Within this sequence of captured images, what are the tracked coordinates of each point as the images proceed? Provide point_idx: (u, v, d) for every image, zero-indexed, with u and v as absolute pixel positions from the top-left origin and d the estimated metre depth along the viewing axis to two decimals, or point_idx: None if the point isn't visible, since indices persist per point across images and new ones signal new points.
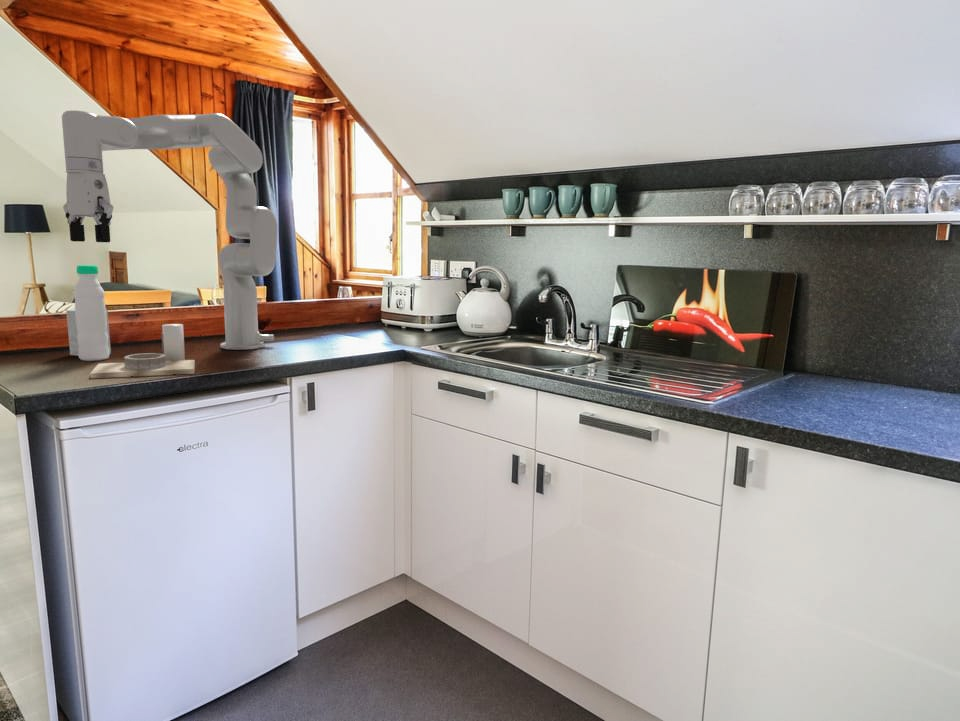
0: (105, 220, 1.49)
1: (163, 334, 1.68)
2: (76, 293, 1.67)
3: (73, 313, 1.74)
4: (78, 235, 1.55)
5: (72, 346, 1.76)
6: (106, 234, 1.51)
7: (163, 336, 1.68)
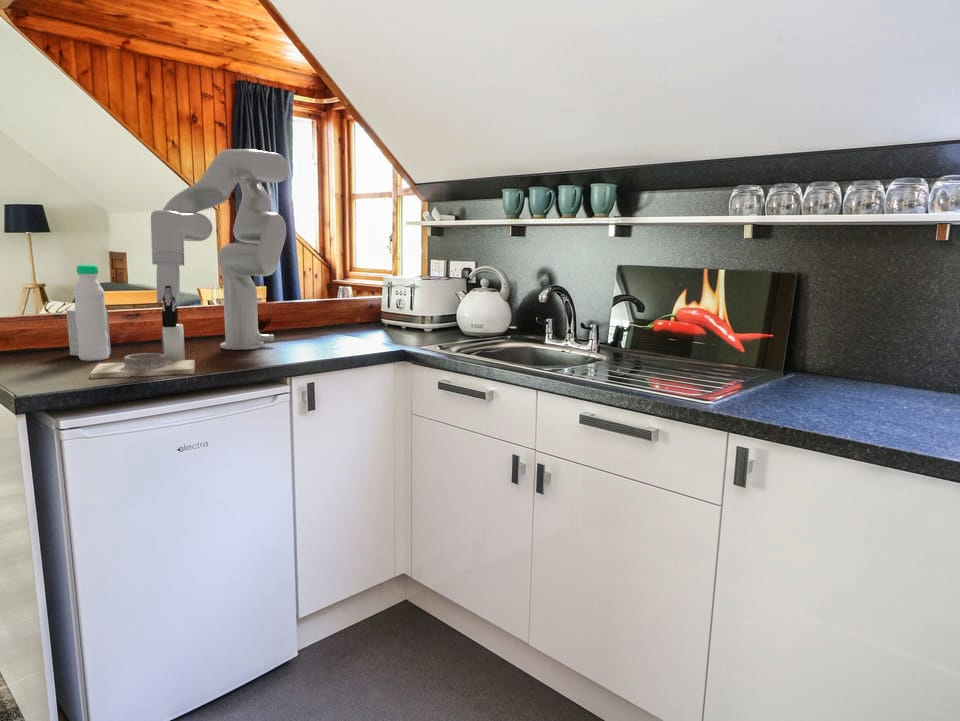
0: None
1: (163, 334, 1.68)
2: (76, 293, 1.67)
3: (73, 313, 1.74)
4: None
5: (72, 346, 1.76)
6: None
7: (163, 336, 1.68)
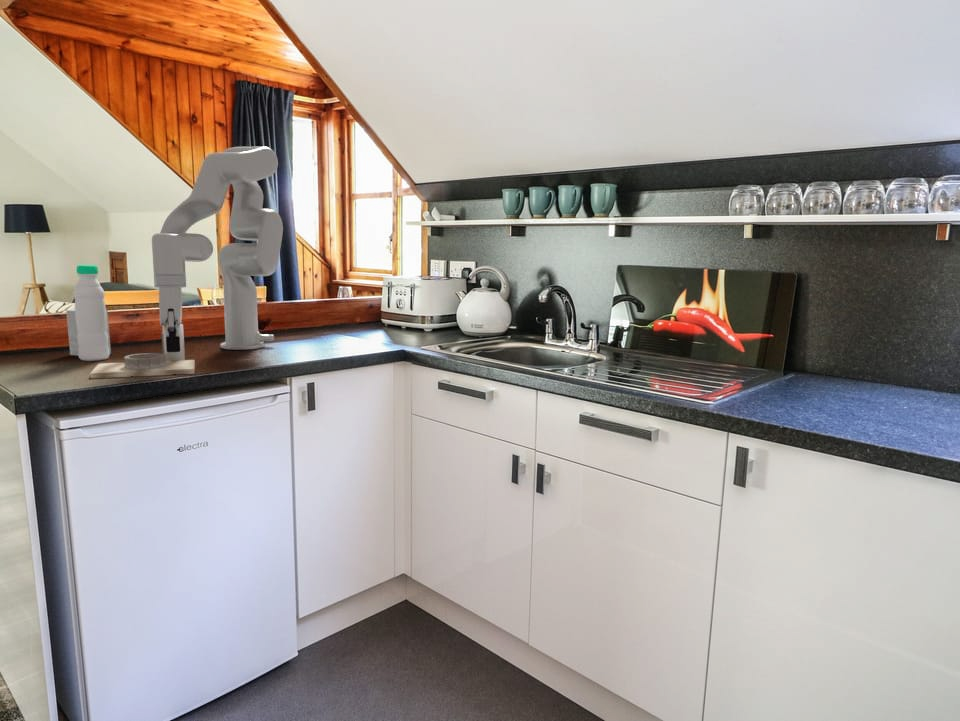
0: None
1: (163, 334, 1.68)
2: (76, 293, 1.67)
3: (73, 313, 1.74)
4: None
5: (72, 346, 1.76)
6: None
7: (163, 336, 1.68)
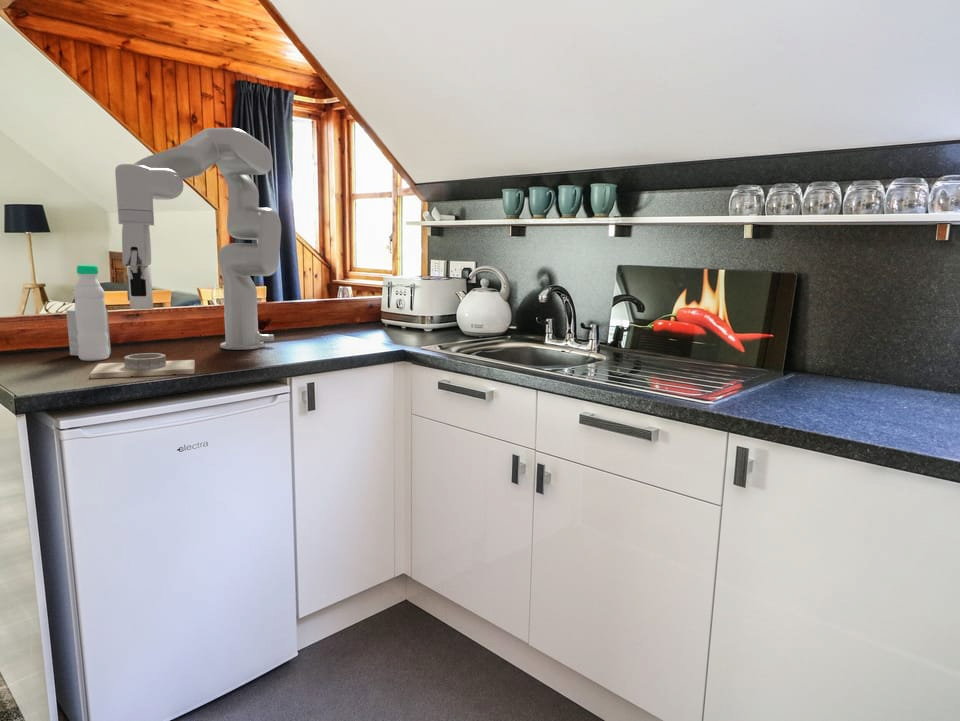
0: None
1: (128, 276, 1.53)
2: (76, 293, 1.67)
3: (73, 313, 1.74)
4: None
5: (72, 346, 1.76)
6: None
7: (128, 279, 1.53)
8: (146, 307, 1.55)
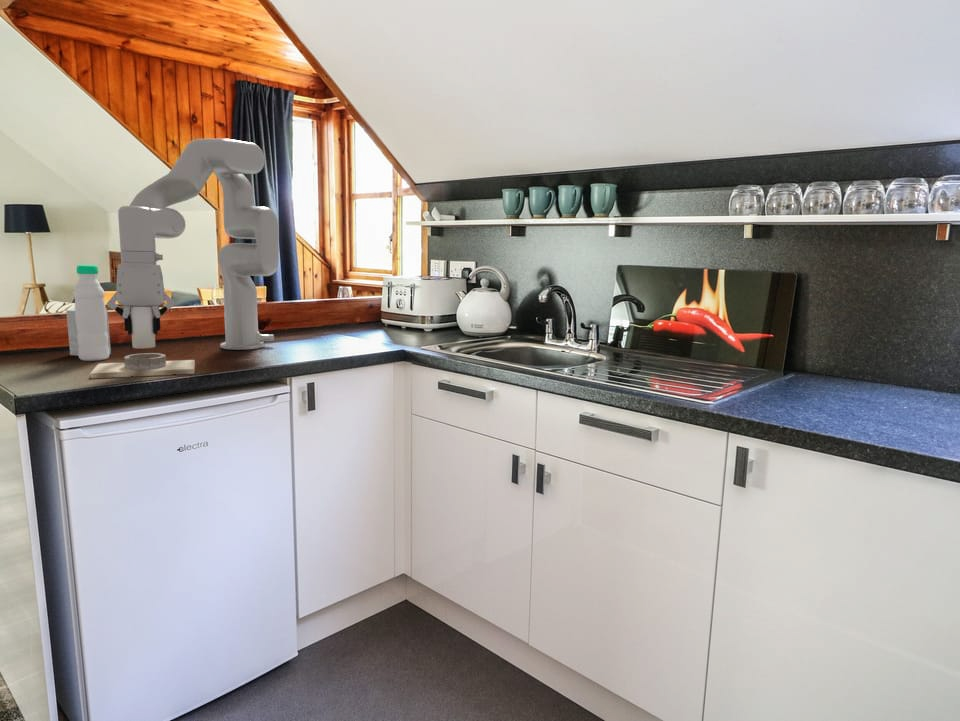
0: (163, 313, 1.58)
1: None
2: (76, 293, 1.67)
3: (73, 313, 1.74)
4: (131, 328, 1.56)
5: (72, 346, 1.76)
6: (160, 326, 1.59)
7: None
8: (133, 346, 1.56)
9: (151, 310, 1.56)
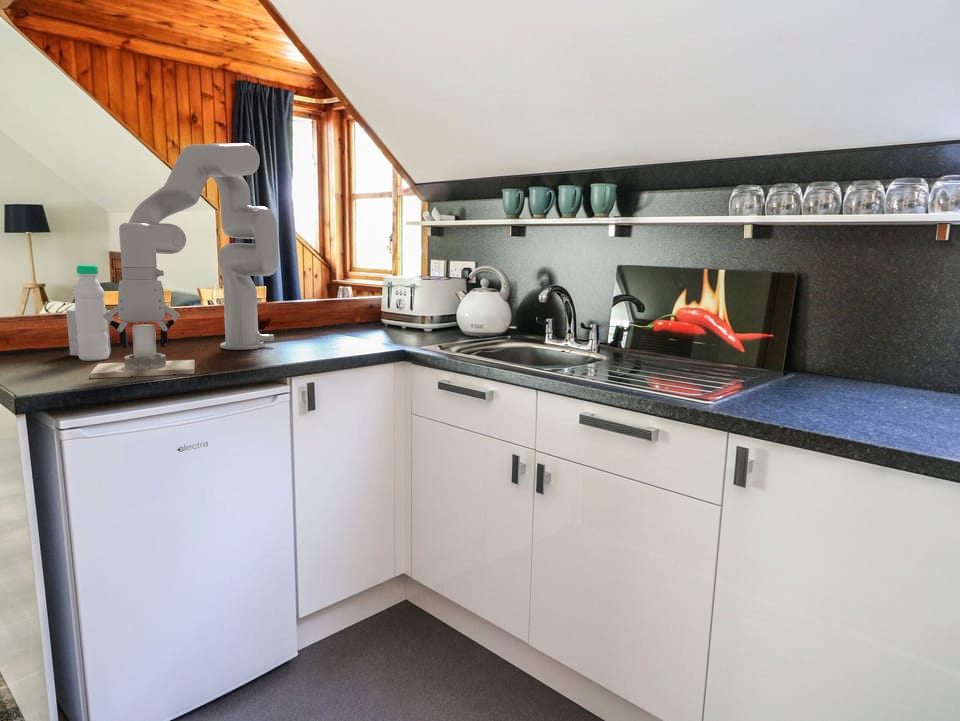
0: (170, 326, 1.59)
1: None
2: (76, 293, 1.67)
3: (73, 313, 1.74)
4: (126, 341, 1.56)
5: (72, 346, 1.76)
6: (167, 338, 1.60)
7: None
8: None
9: (153, 329, 1.57)
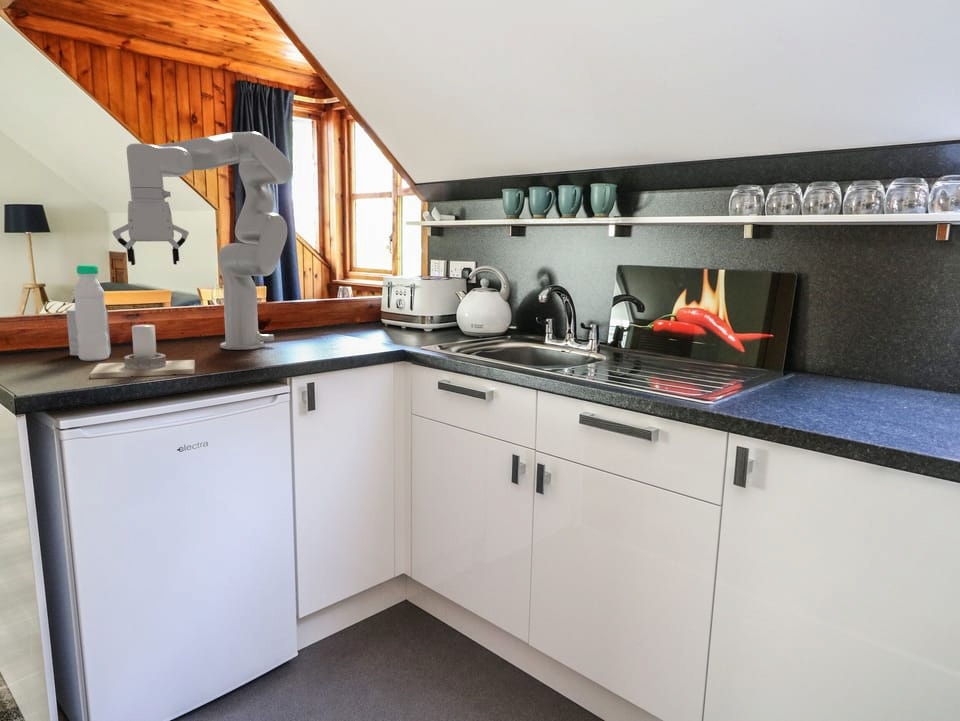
0: (181, 244, 1.66)
1: None
2: (76, 293, 1.67)
3: (73, 313, 1.74)
4: (134, 259, 1.63)
5: (72, 346, 1.76)
6: None
7: None
8: None
9: (152, 329, 1.57)
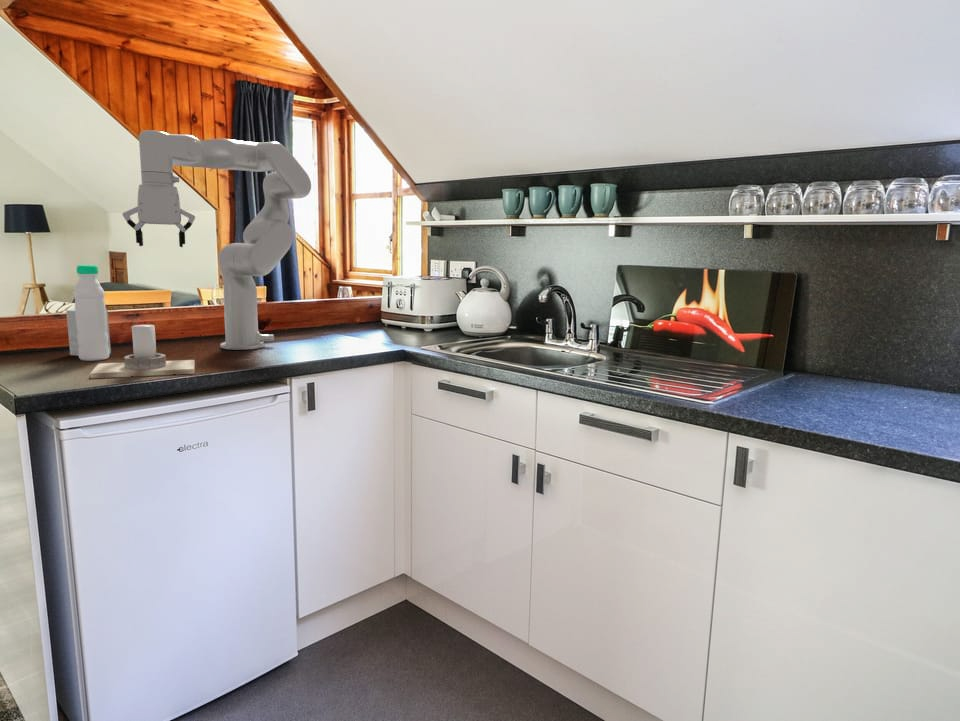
0: None
1: None
2: (76, 293, 1.67)
3: (73, 313, 1.74)
4: (142, 240, 1.70)
5: (72, 346, 1.76)
6: None
7: None
8: None
9: (152, 329, 1.57)
